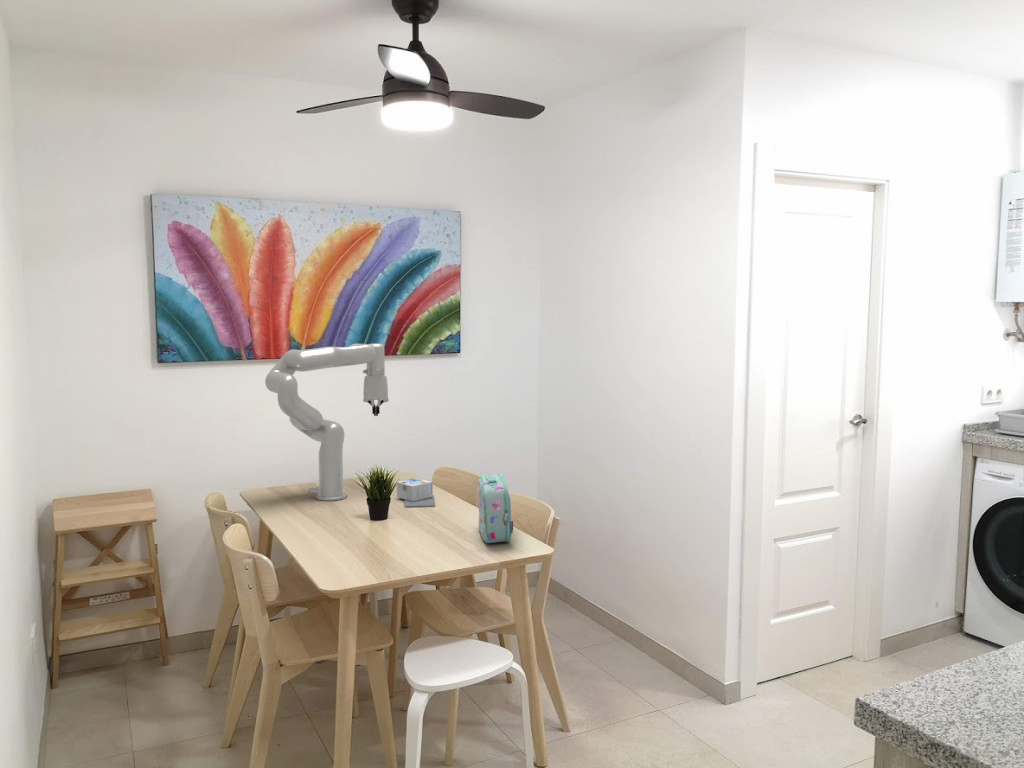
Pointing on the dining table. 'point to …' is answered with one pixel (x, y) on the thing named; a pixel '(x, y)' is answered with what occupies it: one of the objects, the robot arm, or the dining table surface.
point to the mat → (421, 502)
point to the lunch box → (494, 509)
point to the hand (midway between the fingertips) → (376, 415)
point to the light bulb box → (414, 489)
